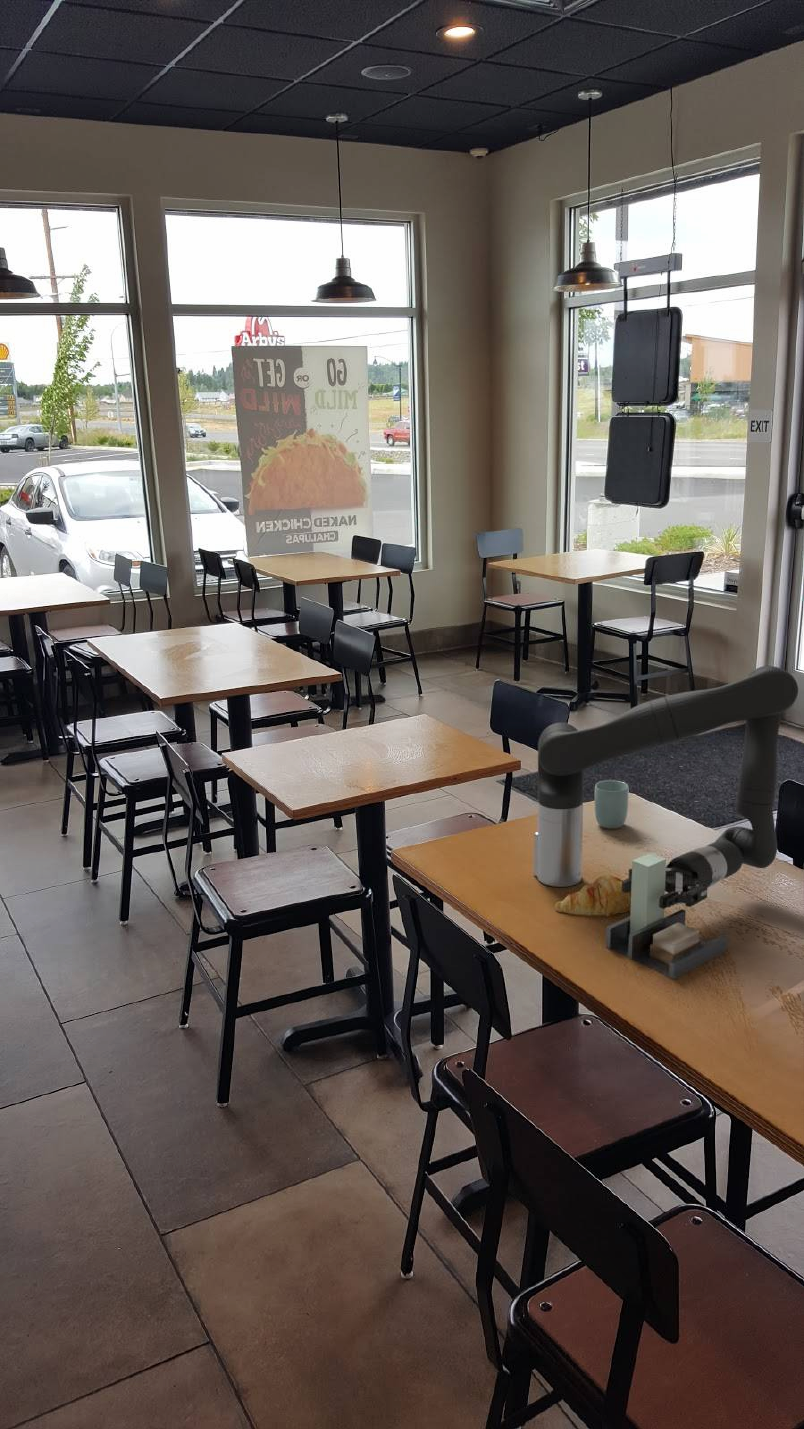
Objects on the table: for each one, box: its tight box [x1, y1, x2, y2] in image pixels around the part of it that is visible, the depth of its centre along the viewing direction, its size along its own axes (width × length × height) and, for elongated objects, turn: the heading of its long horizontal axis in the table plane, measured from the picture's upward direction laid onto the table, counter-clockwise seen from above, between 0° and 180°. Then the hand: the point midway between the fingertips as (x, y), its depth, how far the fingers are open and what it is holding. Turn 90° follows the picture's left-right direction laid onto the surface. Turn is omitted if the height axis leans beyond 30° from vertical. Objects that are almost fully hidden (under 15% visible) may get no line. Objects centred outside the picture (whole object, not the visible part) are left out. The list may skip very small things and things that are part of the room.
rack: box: [605, 909, 728, 980], centre depth 195 cm, size 15×15×6 cm
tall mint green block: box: [629, 852, 667, 934], centre depth 196 cm, size 4×5×16 cm
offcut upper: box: [653, 923, 700, 954], centre depth 193 cm, size 5×7×2 cm, turn 128°
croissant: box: [554, 875, 631, 917], centre depth 212 cm, size 21×10×8 cm, turn 104°
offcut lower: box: [650, 939, 701, 964], centre depth 193 cm, size 5×8×2 cm, turn 128°
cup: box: [594, 779, 630, 830], centre depth 253 cm, size 8×8×10 cm
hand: (641, 895), depth 195 cm, fingers open, 8 cm apart
